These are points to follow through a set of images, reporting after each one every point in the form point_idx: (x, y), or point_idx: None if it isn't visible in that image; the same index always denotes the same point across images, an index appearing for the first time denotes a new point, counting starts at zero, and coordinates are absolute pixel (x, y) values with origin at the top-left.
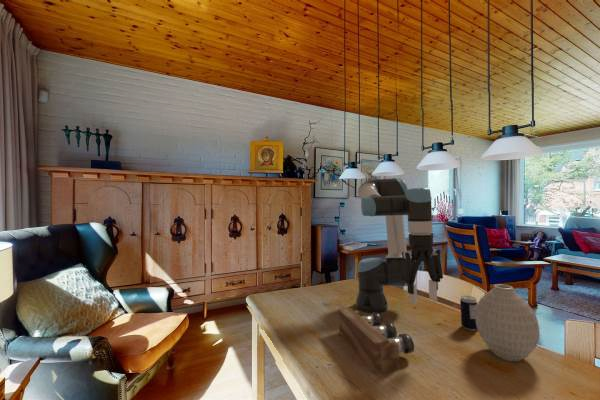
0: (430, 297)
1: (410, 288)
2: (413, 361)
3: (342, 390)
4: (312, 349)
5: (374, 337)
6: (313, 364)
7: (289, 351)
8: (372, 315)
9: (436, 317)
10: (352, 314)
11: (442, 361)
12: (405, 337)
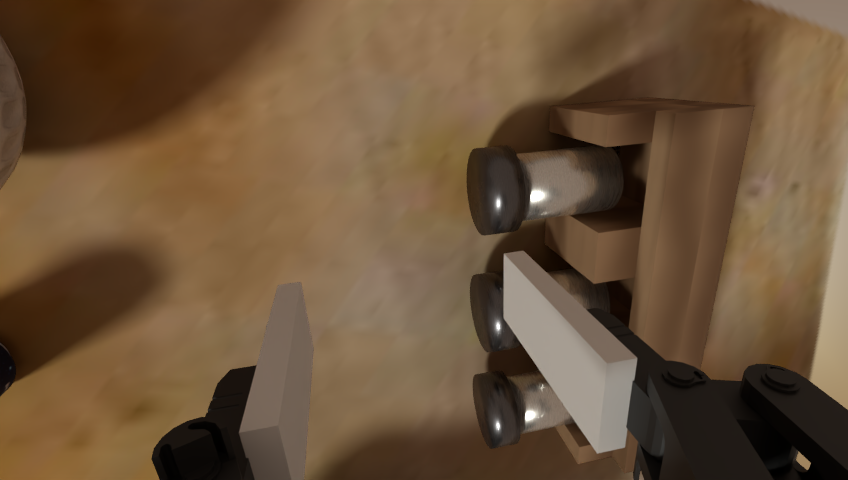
0: (309, 348)
1: (642, 341)
2: (463, 141)
3: (796, 41)
4: (755, 288)
5: (716, 163)
6: (797, 202)
7: (822, 287)
8: (525, 422)
9: (109, 471)
10: None
11: (338, 111)
12: (522, 180)
